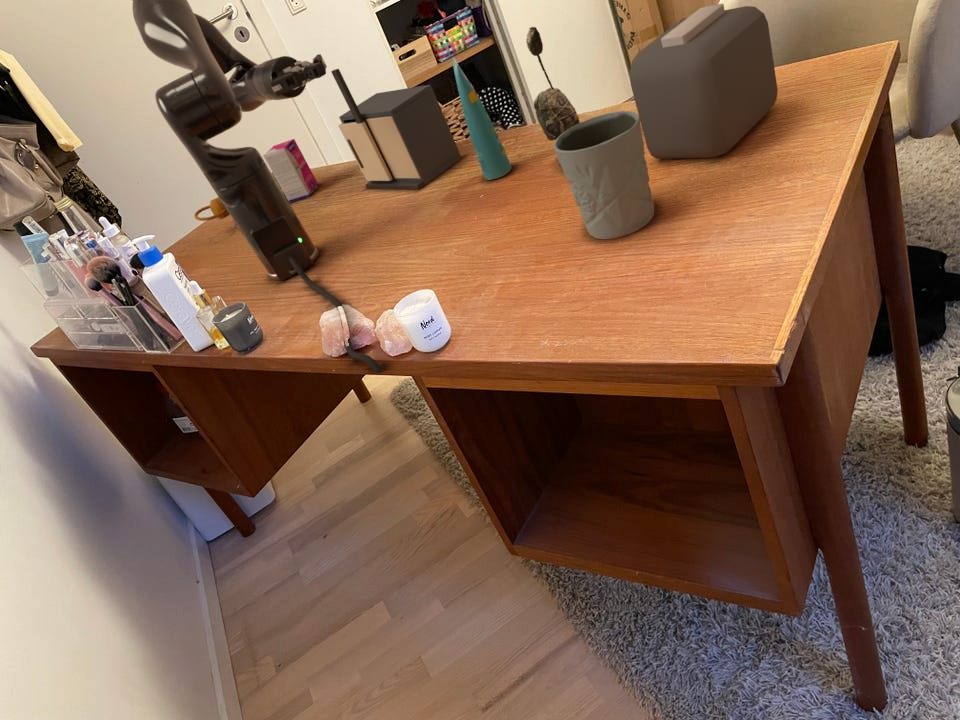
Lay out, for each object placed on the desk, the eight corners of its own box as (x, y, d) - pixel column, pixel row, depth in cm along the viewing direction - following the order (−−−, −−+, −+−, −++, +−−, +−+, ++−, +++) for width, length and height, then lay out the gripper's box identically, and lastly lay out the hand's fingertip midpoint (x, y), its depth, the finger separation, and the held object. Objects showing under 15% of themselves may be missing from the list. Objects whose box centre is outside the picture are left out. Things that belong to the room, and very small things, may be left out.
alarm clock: (713, 110, 101) (691, 1, 93) (788, 105, 93) (771, -16, 85) (652, 166, 94) (622, 53, 86) (727, 165, 86) (702, 41, 78)
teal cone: (516, 173, 112) (472, 56, 102) (490, 185, 113) (443, 71, 102) (506, 161, 119) (463, 51, 108) (480, 173, 119) (435, 64, 109)
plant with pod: (539, 179, 106) (493, 51, 96) (571, 145, 113) (531, 21, 102) (585, 174, 101) (541, 37, 91) (615, 138, 108) (578, 6, 97)
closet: (418, 190, 125) (383, 115, 117) (366, 188, 138) (332, 121, 130) (461, 158, 130) (430, 84, 122) (407, 159, 143) (376, 93, 135)
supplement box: (311, 196, 150) (283, 148, 144) (289, 203, 152) (261, 156, 146) (320, 184, 154) (294, 137, 148) (299, 192, 156) (272, 145, 150)
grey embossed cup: (567, 240, 87) (536, 153, 80) (610, 198, 92) (584, 113, 85) (635, 244, 80) (606, 148, 73) (678, 198, 84) (655, 105, 78)
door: (389, 181, 131) (334, 70, 119) (365, 181, 137) (311, 76, 126) (393, 179, 131) (338, 68, 120) (369, 178, 138) (315, 73, 126)
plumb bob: (283, 188, 167) (194, 233, 153) (271, 152, 161) (178, 195, 147) (305, 195, 162) (216, 242, 148) (294, 158, 156) (200, 204, 142)
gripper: (241, 75, 131) (281, 65, 118) (295, 45, 137) (338, 33, 124) (262, 112, 135) (303, 106, 122) (314, 82, 141) (357, 73, 128)
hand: (320, 69), depth 123 cm, fingers closed
